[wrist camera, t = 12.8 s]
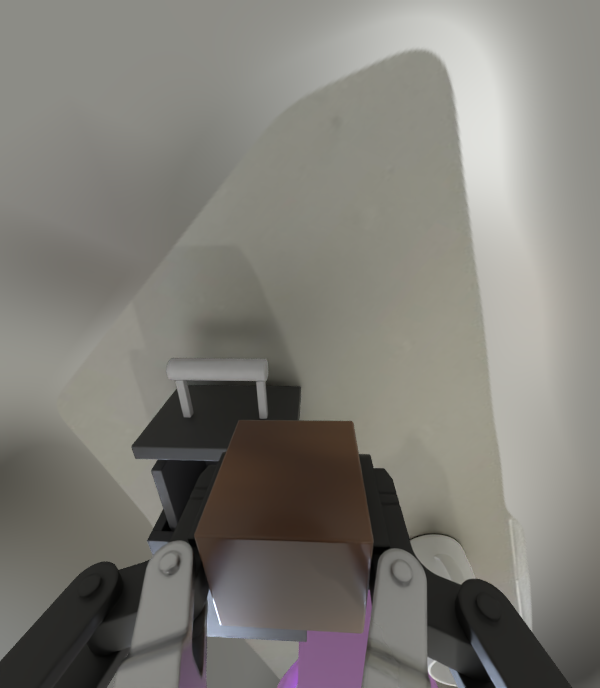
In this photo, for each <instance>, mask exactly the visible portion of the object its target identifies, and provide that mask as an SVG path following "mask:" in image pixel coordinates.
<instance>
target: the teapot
mask: <svg viewBox="0 0 600 688" xmlns="http://www.w3.org/2000/svg"><path fill="white" fill-rule="evenodd" d="M371 610H372V603H371V595H370V590H368V597H367V606H366V615H365V624H364V631H363V633H361V634H359V633H342V632H325V631H308V630H307V642H299V659H298V660H297V661H296V662H295V663H294V664H293V665H292V666H291V668H290V669H289V670H288V671H287V672H286V674H285V675H284V676H283V678H282V679H281V681H280V683H279V685H278V687H277V688H296V686H297V684H298V686H297V688H361V686H362V678H363V670H364V663H365V655H366V648H367V641H368V633H369V625H370V618H371ZM428 676H429V678H430V682H431V688H438V686H437V684H436V682H435V680H434V679H433V678H432V677H431V676H430V675H429V672H428Z"/></svg>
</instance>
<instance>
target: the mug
mask: <svg viewBox="0 0 600 688" xmlns="http://www.w3.org/2000/svg"><path fill="white" fill-rule="evenodd" d="M410 543H411V546H412V549H413V551H414V553H415V555H416V557H417V558H418V560H419V561H420V562H421V563H422V564H423V565H424V566H425V567H426V568H427V569H428V570H430V571H431V572H433V573H434V574H436V575H438V576H441V577H443V578H446V579H448V580H451V581H453V582H456V583H458V584H462V583H463V582H464V581H466V580H468V579H476V577H475V575H474V572H473V570H472V568H471V566H470V563H469V561H468V559H467V557H466V554H465V552H464V550H463V548H462V546H461V545H460V544H459V543H458V542H457V541H456V540H455V539H453V538H450V537H448V536H444V535H435V534H431V535H423V536H420V537H416V538H414V539H412V540H410ZM427 664H428V672H429V675H430V676H431V677H432V678H433V679H435V680H437V681H438V682H441V683H444V684H447V685H452V686H457V684H456V682H455V680H454V678H453V676H452V674H451V672H450V670H449V668H448V667H447V666H445V665H443V664H441V663H439V662H437V661H435V660H433V659H431V658H429V657H427Z"/></svg>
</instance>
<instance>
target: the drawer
mask: <svg viewBox="0 0 600 688" xmlns="http://www.w3.org/2000/svg"><path fill="white" fill-rule="evenodd" d="M167 376H168V378H169V379H170V380H175V382H176V386H177V389H176V390H175V392H174V393H173V394H172V395H171V397H170V398H169V399H168V400H167V402H166V403H165V404H164V406H163V407H162V408H161V409H160V411H159V412H158V413H157V414H156V416H155V417H154V418H153V420H152V421H151V422H150V423H149V425H148V426H147V427H146V428H145V430H144V431H143V432H142V433H141V435H140V436H139V437H138V439H137V440H136V441H135V442H134V444H133V445H132V450H133V453H134V456H135V458H136V459H158V460H157V462H156V464H155V465H154V467H153V468H152V470H151V472H152V475H153V478H154V481H155V484H156V487H157V490H158V493H159V497H160V500H161V503H162V506H163V509H164V512H165V515H166V518H167V521H168V524H169V527H170V530H171V532H174V531H175V528H176V526H177V524H178V522H179V520H180V517H181V515H182V513H183V511H184V509H185V506H186V504H187V502H188V500H189V499H190V495H191V493H192V491H193V489H194V487H195V484H196V482H197V480H198V478H199V476H200V474H201V473H202V472H203V471H204V470H205V469H206V468H207V467H208V466H209V465H217V464H218V461H219V459H220V456H221V454H222V453H223V452H226V451H227V449H228V446H229V444H230V441H231V438H232V436H233V433H234V431H235V428H236V426H237V423H238V421H239V420H294V421H299V416H300V403H301V387H300V386H266V383H265V381H266V380H267V378H268V361H267V359H229V358H171V359H170V360H169V361H168V364H167ZM187 380H214V381H256V386H223V385H188V384H187Z"/></svg>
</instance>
